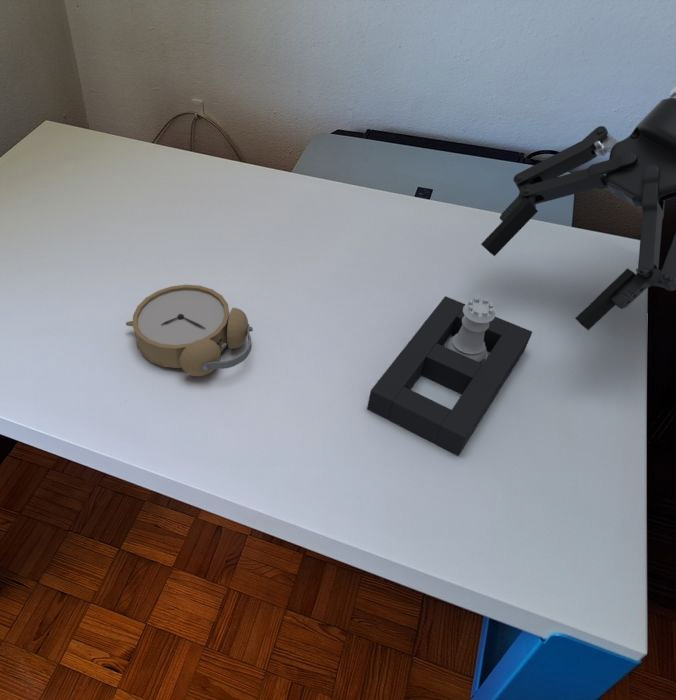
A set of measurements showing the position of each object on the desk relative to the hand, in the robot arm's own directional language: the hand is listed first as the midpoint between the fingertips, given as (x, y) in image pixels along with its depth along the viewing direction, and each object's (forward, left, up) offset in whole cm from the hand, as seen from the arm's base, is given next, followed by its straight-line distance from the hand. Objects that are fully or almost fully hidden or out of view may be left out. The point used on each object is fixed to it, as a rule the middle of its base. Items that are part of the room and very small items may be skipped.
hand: (531, 285), depth 73 cm
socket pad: (+3, +10, -8) cm, 13 cm away
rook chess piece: (+3, +6, -8) cm, 11 cm away
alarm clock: (+29, +22, -8) cm, 37 cm away
